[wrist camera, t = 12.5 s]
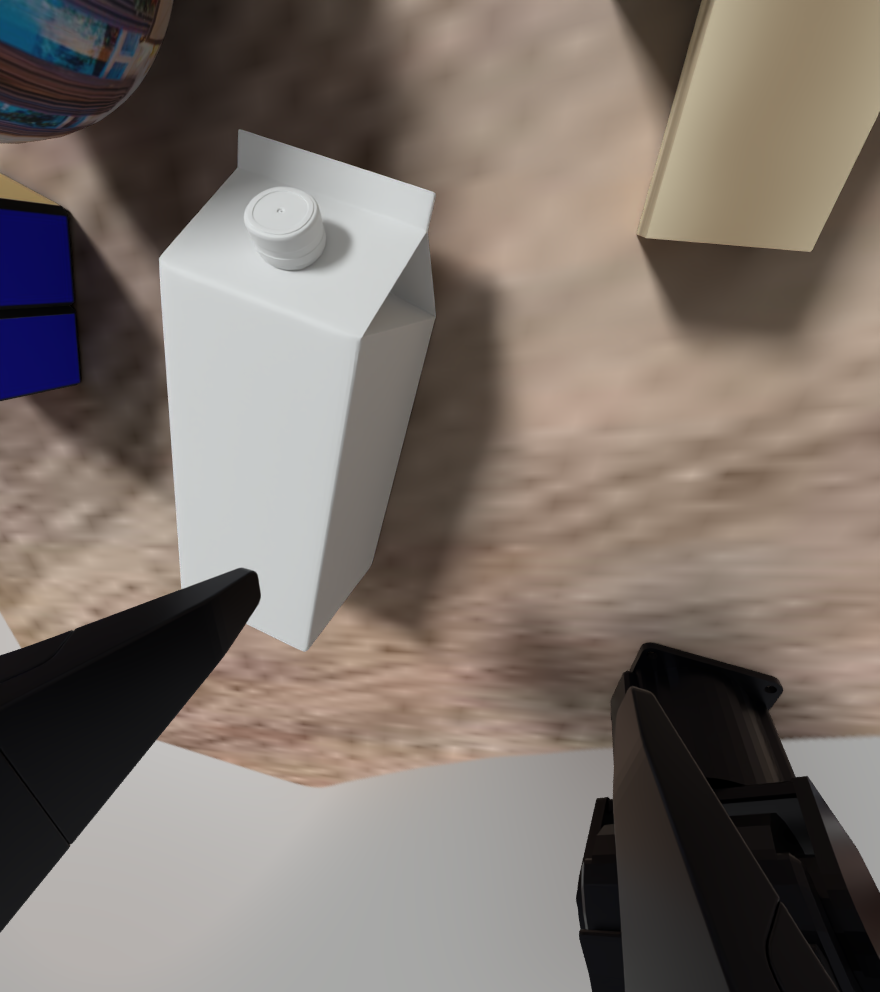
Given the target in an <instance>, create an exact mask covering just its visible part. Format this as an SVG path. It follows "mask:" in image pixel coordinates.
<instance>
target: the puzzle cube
mask: <svg viewBox="0 0 880 992" xmlns="http://www.w3.org/2000/svg"><path fill="white" fill-rule="evenodd" d="M74 301H75V298H74V285H73V272H72V258H71V245H70V232H69V219H68V213H67V212H66V211H65V210H64V208H63V207H62V206H60V205H59V204H57V203H55V202H53V201H51V200H49V199H48V198H46V197H44V196H42V195H40V194H38V193H36V192H35V191H33V190H31V189H29V188H27V187H25V186H24V185H22V184H20V183H18V182H16V181H14V180H12V179H11V178H9V177H7V176H5V175H3V174H1V173H0V401H3V400H8V399H13V398H17V397H22V396H27V395H31V394H36V393H41V392H45V391H50V390H55V389H59V388H64V387H69V386H73V385H77V384H79V383H80V381H81V378H80V365H79V352H78V338H77V325H76V312H75V310H74V309H73V308H72V307H71V306H69V305H71V304H72V303H74Z"/></svg>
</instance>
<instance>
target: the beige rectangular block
mask: <svg viewBox="0 0 880 992" xmlns="http://www.w3.org/2000/svg"><path fill="white" fill-rule="evenodd" d="M879 112H880V0H702V1H701V4H700V8H699V12H698V15H697V19H696V22H695V26H694V30H693V33H692V37H691V40H690V44H689V47H688V51H687V55H686V58H685V62H684V65H683V69H682V73H681V76H680V80H679V83H678V87H677V90H676V94H675V98H674V101H673V105H672V108H671V112H670V116H669V119H668V123H667V126H666V130H665V134H664V137H663V141H662V144H661V148H660V151H659V155H658V159H657V162H656V166H655V169H654V173H653V177H652V180H651V184H650V187H649V191H648V195H647V198H646V202H645V205H644V209H643V212H642V216H641V220H640V223H639V227H638V230H637V235H639V236H642V237H645V238H652V239H664V240H675V241H687V242H699V243H711V244H723V245H735V246H746V247H758V248H770V249H782V250H794V251H806V252H811V251H812V249H813V247H814V245H815V243H816V241H817V239H818V237H819V235H820V233H821V231H822V229H823V227H824V225H825V223H826V221H827V219H828V217H829V215H830V212H831V210H832V208H833V206H834V204H835V202H836V200H837V198H838V196H839V194H840V192H841V190H842V188H843V186H844V184H845V182H846V180H847V178H848V176H849V174H850V171H851V169H852V167H853V165H854V163H855V161H856V159H857V157H858V155H859V153H860V151H861V149H862V147H863V145H864V143H865V141H866V139H867V137H868V135H869V133H870V131H871V128H872V126H873V124H874V122H875V120H876V118H877V116H878V114H879Z"/></svg>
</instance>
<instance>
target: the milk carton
mask: <svg viewBox="0 0 880 992" xmlns="http://www.w3.org/2000/svg"><path fill="white" fill-rule="evenodd" d="M435 198H436V193H434V192H432V191H429V190H426V189H423V188H420V187H417V186H414V185H411V184H408V183H405V182H402V181H398V180H395V179H392V178H389V177H386V176H383V175H380V174H377V173H374V172H371V171H368V170H364V169H361V168H358V167H355V166H352V165H349V164H346V163H343V162H340V161H337V160H334V159H331V158H327V157H324V156H321V155H318V154H315V153H312V152H309V151H306V150H303V149H300V148H297V147H294V146H290V145H287V144H284V143H281V142H278V141H275V140H272V139H269V138H266V137H263V136H260V135H257V134H253V133H250V132H247V131H244V130H241V129H239V130H238V168H237V169H236V170H235V171H234V172H233V173H232V174H231V176H230V177H229V178H228V179H227V180H226V181H225V182H224V184H223V185H222V186H221V187H220V188H219V189H218V190H217V192H216V193H215V194H214V195H213V196H212V197H211V198H210V200H209V201H208V202H207V203H206V204H205V205H204V206H203V208H202V209H201V210H200V211H199V212H198V213H197V214H196V216H195V217H194V218H193V219H192V220H191V221H190V222H189V224H188V225H187V226H186V227H185V228H184V229H183V230H182V232H181V233H180V234H179V235H178V236H177V237H176V238H175V240H174V241H173V242H172V243H171V244H170V245H169V246H168V248H167V249H166V250H165V251H164V252H163V254H162V255H161V256H160V258H159V269H160V288H161V303H162V318H163V332H164V346H165V360H166V375H167V389H168V403H169V418H170V432H171V446H172V460H173V475H174V489H175V503H176V517H177V532H178V546H179V560H180V574H181V587H182V589H184V588H186V587H189V586H192V585H194V584H197V583H200V582H202V581H205V580H208V579H210V578H213V577H216V576H218V575H221V574H224V573H226V572H229V571H232V570H234V569H237V568H241V567H242V568H247V569H250V570H253V571H255V572H256V573H257V574H258V578H259V585H260V591H261V599H260V602H259V604H258V606H257V608H256V609H255V611H254V612H253V614H252V615H251V617H250V618H249V620H248V621H247V623H246V624H248V625H250V626H252V627H254V628H256V629H258V630H260V631H262V632H264V633H266V634H268V635H270V636H272V637H274V638H276V639H278V640H280V641H282V642H284V643H286V644H288V645H290V646H292V647H295V648H297V649H299V650H301V651H304V652H305V651H307V650H308V649H309V648H310V647H311V645H312V644H313V643H314V641H315V640H316V639H317V637H318V636H319V635H320V633H321V632H322V631H323V629H324V628H325V627H326V625H327V624H328V623H329V621H330V620H331V619H332V617H333V616H334V615H335V613H336V612H337V611H338V609H339V608H340V607H341V605H342V604H343V603H344V601H345V600H346V599H347V597H348V596H349V595H350V593H351V592H352V591H353V589H354V588H355V587H356V585H357V584H358V583H359V581H360V580H361V579H362V578H363V576H364V575H365V574H366V572H367V571H368V570H369V568H370V567H371V565H372V562H373V558H374V554H375V550H376V546H377V543H378V539H379V535H380V531H381V527H382V523H383V519H384V515H385V512H386V508H387V504H388V500H389V496H390V492H391V488H392V484H393V480H394V477H395V473H396V469H397V465H398V461H399V457H400V453H401V449H402V446H403V442H404V438H405V434H406V430H407V426H408V422H409V418H410V414H411V411H412V407H413V403H414V399H415V395H416V391H417V387H418V383H419V379H420V376H421V372H422V368H423V364H424V360H425V356H426V352H427V348H428V345H429V341H430V337H431V333H432V329H433V325H434V321H435V318H436V310H435V300H434V290H433V280H432V270H431V259H430V249H429V239H428V229H429V225H430V220H431V216H432V211H433V207H434V202H435Z"/></svg>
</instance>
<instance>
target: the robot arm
mask: <svg viewBox="0 0 880 992" xmlns="http://www.w3.org/2000/svg"><path fill="white" fill-rule="evenodd" d="M260 599H261V591H260V585H259V578H258V574H257V573H256V572H255V571H253V570H250V569H247V568H242V567H241V568H237V569H234V570H232V571H229V572H226V573H224V574H221V575H218V576H216V577H213V578H210V579H208V580H205V581H202V582H200V583H197V584H194V585H192V586H189V587H186V588H184V589H181V590H178V591H175V592H173V593H170V594H167V595H165V596H162V597H159V598H157V599H154V600H151V601H149V602H146V603H143V604H141V605H138V606H135V607H133V608H130V609H127V610H125V611H122V612H119V613H117V614H114V615H111V616H108V617H106V618H103V619H100V620H98V621H95V622H92V623H90V624H87V625H84V626H82V627H79V628H77V629H75V630H74V631H73V630H71V631H68V632H65V633H63V634H60V635H57V636H55V637H52V638H49V639H47V640H44V641H41V642H38V643H35V644H33V645H30V646H27V647H24V648H21V649H18V650H15V651H12V652H10V653H6V654H3V655H0V932H1V931H2V930H3V929H4V927H5V926H6V925H7V924H8V923H9V921H10V920H11V919H12V918H13V916H14V915H15V914H16V913H17V911H18V910H19V909H20V908H21V906H22V905H23V904H24V903H25V901H26V900H27V899H28V898H29V897H30V895H31V894H32V893H33V891H35V889H36V888H37V887H38V886H39V884H40V883H41V882H42V881H43V879H44V878H45V877H46V876H47V874H48V873H49V872H50V871H51V870H52V868H53V867H54V866H55V865H56V863H57V862H58V861H59V860H60V858H61V857H62V856H63V855H64V854H65V852H66V851H67V850H68V849H69V847H70V844H72V843H73V842H74V841H75V840H76V838H77V837H78V836H79V835H80V833H81V832H82V831H83V830H84V828H85V827H86V826H87V825H88V823H89V822H90V821H91V820H92V819H93V817H94V816H95V815H96V814H97V812H98V811H99V810H100V809H101V808H102V806H103V805H104V804H105V803H106V801H107V800H108V799H109V797H110V796H111V795H112V794H113V793H114V791H115V790H116V789H117V788H118V787H119V785H120V784H121V783H122V782H123V780H124V779H125V778H126V777H127V775H128V774H129V773H130V772H131V771H132V769H133V768H134V767H135V766H136V764H137V763H138V762H139V761H140V759H141V758H142V757H143V756H144V755H145V753H146V752H147V751H148V750H149V748H150V747H151V746H152V745H153V743H154V742H155V741H156V740H157V738H158V737H159V736H160V735H161V734H162V732H163V731H164V730H165V729H166V727H167V726H168V725H169V724H170V722H171V721H172V720H173V719H174V718H175V716H176V715H177V714H178V713H179V711H180V710H181V709H182V708H183V706H184V705H185V704H186V703H187V701H188V700H189V699H190V698H191V697H192V695H193V694H194V693H195V692H196V690H197V689H198V688H199V687H200V685H201V684H202V683H203V682H204V681H205V679H206V678H207V677H208V676H209V674H210V673H211V672H212V671H213V669H214V668H215V667H216V666H217V664H218V663H219V662H220V661H221V659H222V658H223V657H224V655H225V654H226V653H227V651H228V650H229V648H230V647H231V645H232V644H233V642H234V641H235V639H236V638H237V636H238V635H239V633H240V632H241V630H242V629H243V627H244V626H245V624H246V623H247V621H248V620H249V618H250V617H251V615H252V614H253V612H254V611H255V609H256V608H257V606H258V604H259V602H260ZM648 652H654V653H648ZM767 686H770V687H767ZM782 692H783V688H782V686H781V684H780V681H779V680H778V679H777V678H775V677H773V676H769V675H766V674H762V673H759V672H755V671H752V670H748V669H745V668H741V667H737V666H734V665H730V664H727V663H723V662H720V661H716V660H713V659H709V658H705V657H702V656H698V655H695V654H691V653H688V652H684V651H681V650H677V649H673V648H670V647H666V646H663V645H659V644H656V643H650V642H649V643H645V644H643V645H642V646H641V647H640V650H639V652H638V654H637V656H636V658H635V660H634V662H633V665H632V667H631V669H630V671H626V672H624V673H623V674H622V677H621V679H620V681H619V683H618V685H617V688H616V690H615V692H614V694H613V696H612V699H611V720H612V737H613V756H614V780H613V799H609V798H608V797H605V798H597V800H596V803H595V808H594V812H593V817H592V821H591V826H590V830H589V835H588V839H587V843H586V848H585V853H584V857H583V861H582V866H581V870H580V875H579V882H578V890H577V895H576V902H577V906H578V915H579V922H580V928H581V929H580V931H579V939H580V943H581V947H582V950H583V954H584V958H585V961H586V965H587V968H588V972H589V977H590V982H591V988H592V992H880V892H879V890H878V888H877V886H876V885H875V882H874V880H873V878H872V876H871V874H870V873H869V870H868V869H867V867H866V865H865V863H864V861H863V859H862V857H861V855H860V853H859V851H858V849H857V848H856V846H855V845H854V844H853V842H852V840H851V839H850V838H849V836H848V835H847V833H846V832H845V830H844V829H843V827H842V826H841V824H840V823H839V821H838V820H837V818H836V817H835V815H834V814H833V813H832V811H831V810H830V808H829V807H828V805H827V804H826V802H825V801H824V799H823V798H822V797H821V795H820V794H819V792H818V791H817V789H816V788H815V786H814V785H813V783H812V782H811V781H810V779H809V778H808V776H804V777H795V775H794V772H793V770H792V767H791V765H790V762H789V760H788V757H787V755H786V753H785V750H784V748H783V745H782V743H781V740H780V738H779V736H778V733H777V731H776V728H775V726H774V724H773V721H772V719H771V716H770V714H769V710H770V708H771V707H772V706H773V704H774V703H775V702H776V700H777V699H778V698H779V696H780V695H781V694H782Z"/></svg>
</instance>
